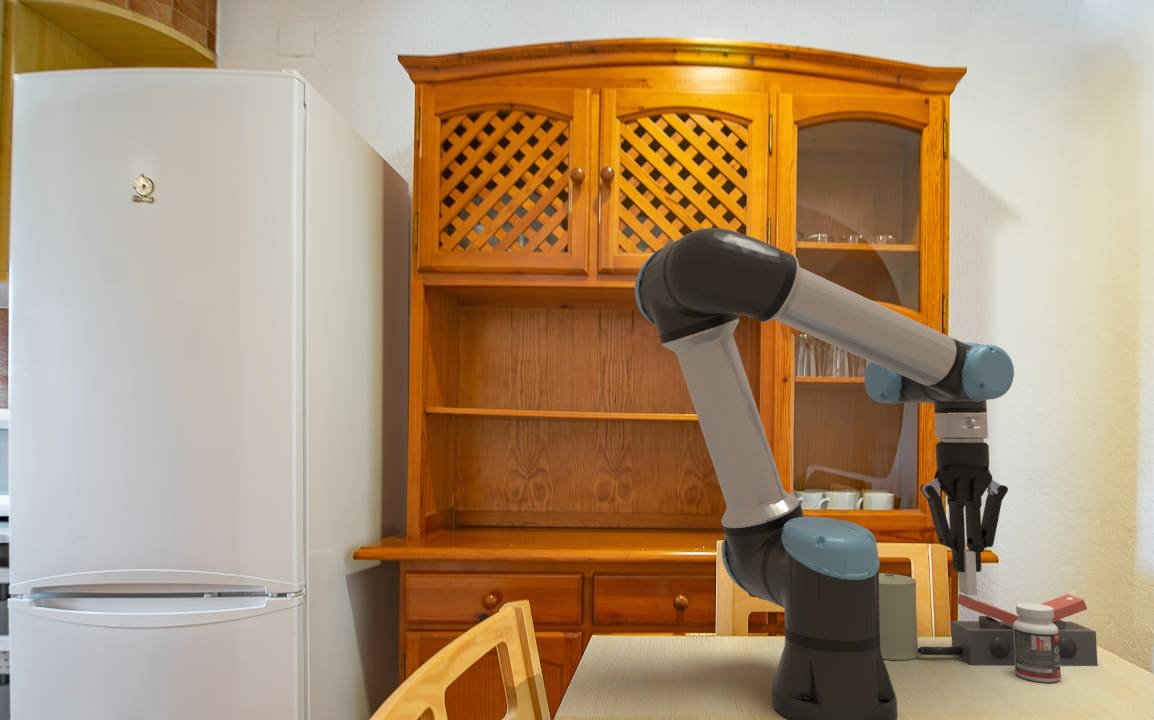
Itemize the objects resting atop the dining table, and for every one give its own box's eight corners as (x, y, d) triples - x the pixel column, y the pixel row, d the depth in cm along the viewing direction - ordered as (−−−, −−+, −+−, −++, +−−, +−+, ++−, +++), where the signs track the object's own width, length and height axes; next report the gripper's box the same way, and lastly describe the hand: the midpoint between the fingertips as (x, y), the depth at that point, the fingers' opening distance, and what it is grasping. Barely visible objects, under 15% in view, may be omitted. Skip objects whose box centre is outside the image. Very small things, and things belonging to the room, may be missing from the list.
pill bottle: (1067, 685, 110) (1064, 612, 111) (1023, 682, 111) (1020, 610, 112) (1051, 672, 116) (1048, 603, 117) (1009, 669, 117) (1006, 601, 118)
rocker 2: (1038, 627, 121) (1034, 617, 121) (1024, 620, 125) (1020, 611, 125) (1087, 609, 121) (1083, 599, 121) (1071, 603, 125) (1067, 593, 125)
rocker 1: (968, 608, 121) (971, 598, 121) (956, 602, 125) (959, 593, 125) (1018, 627, 121) (1022, 617, 121) (1005, 620, 125) (1008, 611, 125)
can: (923, 649, 127) (921, 573, 128) (913, 664, 120) (910, 583, 121) (864, 641, 132) (862, 568, 133) (850, 654, 125) (848, 576, 126)
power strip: (926, 664, 119) (925, 623, 120) (910, 653, 125) (909, 613, 126) (1098, 665, 119) (1095, 624, 120) (1073, 653, 125) (1071, 614, 126)
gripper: (930, 441, 121) (936, 598, 119) (1016, 441, 121) (1023, 598, 119) (910, 440, 129) (915, 588, 127) (991, 440, 129) (997, 588, 127)
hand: (968, 593), depth 123 cm, fingers closed
